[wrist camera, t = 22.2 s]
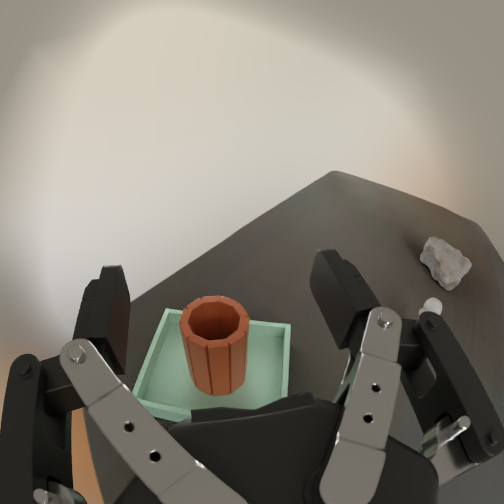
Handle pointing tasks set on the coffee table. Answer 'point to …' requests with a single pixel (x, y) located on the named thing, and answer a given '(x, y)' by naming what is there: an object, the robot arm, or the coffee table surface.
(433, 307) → the chess piece
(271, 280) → the coffee table surface
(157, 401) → the tray
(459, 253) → the stone
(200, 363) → the ring collar
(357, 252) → the coffee table surface
